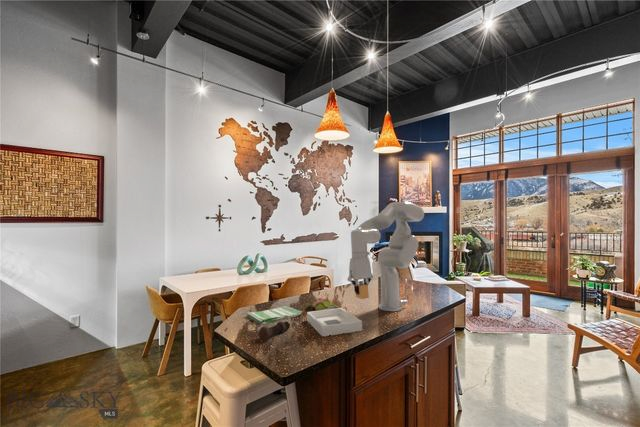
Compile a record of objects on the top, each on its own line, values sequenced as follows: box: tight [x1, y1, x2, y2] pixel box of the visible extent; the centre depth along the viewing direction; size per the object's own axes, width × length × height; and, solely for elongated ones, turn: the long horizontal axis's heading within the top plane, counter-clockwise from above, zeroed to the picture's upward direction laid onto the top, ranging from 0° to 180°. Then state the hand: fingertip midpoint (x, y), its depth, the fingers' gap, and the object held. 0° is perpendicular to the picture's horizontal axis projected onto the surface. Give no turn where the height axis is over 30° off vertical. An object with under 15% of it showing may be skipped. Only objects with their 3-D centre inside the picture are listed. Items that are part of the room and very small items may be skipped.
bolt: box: [258, 321, 291, 342], centre depth 125 cm, size 6×5×15 cm
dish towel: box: [246, 305, 303, 326], centre depth 151 cm, size 18×23×3 cm
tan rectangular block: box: [355, 280, 370, 300], centre depth 144 cm, size 4×6×8 cm, turn 19°
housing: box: [306, 307, 363, 338], centre depth 134 cm, size 18×22×4 cm
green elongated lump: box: [306, 297, 340, 311], centre depth 157 cm, size 12×7×25 cm
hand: (361, 292), depth 144 cm, fingers closed on tan rectangular block, 3 cm apart
